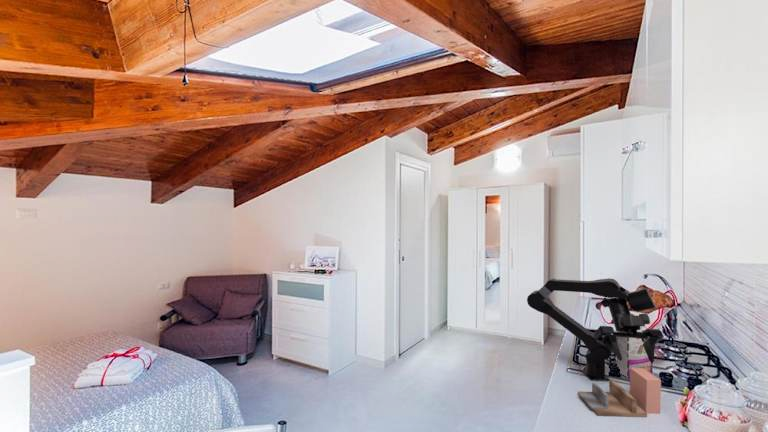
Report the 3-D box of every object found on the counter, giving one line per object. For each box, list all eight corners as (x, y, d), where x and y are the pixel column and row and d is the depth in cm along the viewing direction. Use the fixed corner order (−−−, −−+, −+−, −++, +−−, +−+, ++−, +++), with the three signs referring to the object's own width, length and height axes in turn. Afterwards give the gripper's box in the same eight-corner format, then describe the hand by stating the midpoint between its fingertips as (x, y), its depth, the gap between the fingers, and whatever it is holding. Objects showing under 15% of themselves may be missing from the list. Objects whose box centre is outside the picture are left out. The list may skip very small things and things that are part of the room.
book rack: (576, 394, 120) (576, 379, 120) (622, 395, 120) (623, 380, 119) (595, 415, 108) (595, 398, 108) (647, 417, 108) (647, 400, 107)
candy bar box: (639, 368, 139) (640, 325, 138) (652, 374, 134) (653, 329, 133) (615, 372, 136) (616, 328, 135) (627, 378, 131) (628, 332, 130)
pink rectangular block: (629, 399, 117) (630, 368, 117) (642, 399, 117) (643, 368, 117) (646, 413, 110) (646, 380, 109) (660, 413, 109) (661, 380, 109)
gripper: (600, 301, 121) (614, 349, 111) (662, 305, 119) (683, 353, 109) (588, 317, 129) (601, 362, 119) (646, 320, 127) (664, 366, 117)
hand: (636, 361), depth 116 cm, fingers open, 9 cm apart
